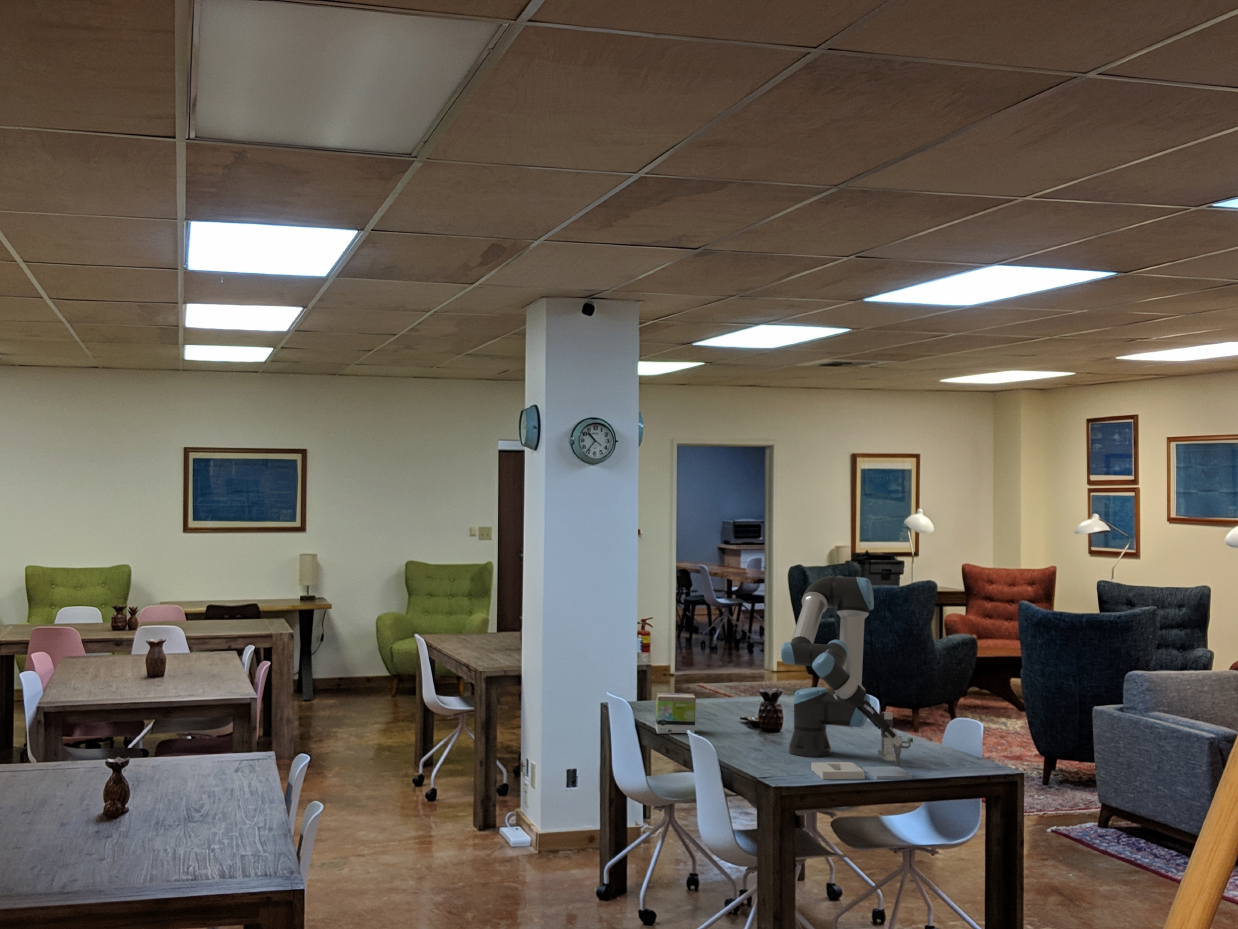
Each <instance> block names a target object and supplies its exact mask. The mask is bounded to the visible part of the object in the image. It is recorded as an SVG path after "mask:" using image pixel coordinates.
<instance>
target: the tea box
mask: <svg viewBox="0 0 1238 929" xmlns="http://www.w3.org/2000/svg"><path fill="white" fill-rule="evenodd" d="M655 699H656V700H655V730H656V734H671V733H682V732H684V733H686V731H687V730H690V731H693V732H695V731H696V707H697V706H696V704H697V702H696V700H697V699H696V696H695V694H694V693H681V692H680V693H678V692H677V693H676V692H673V693H672V692H669V693H668V692H656V698H655Z"/></svg>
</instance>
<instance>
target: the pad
mask: <svg viewBox="0 0 1238 929" xmlns="http://www.w3.org/2000/svg"><path fill="white" fill-rule="evenodd" d="M862 770H863V771H864V770H865V773H867V772H868V775H870V776H871V775H872V776H871V777H873V778H874V779H875V780H895V779H896V780H912V779H913V776H912V774H911V773H909V772H907V771H905V770H904V769H902V768H901V767H900V766H863V768H862Z"/></svg>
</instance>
